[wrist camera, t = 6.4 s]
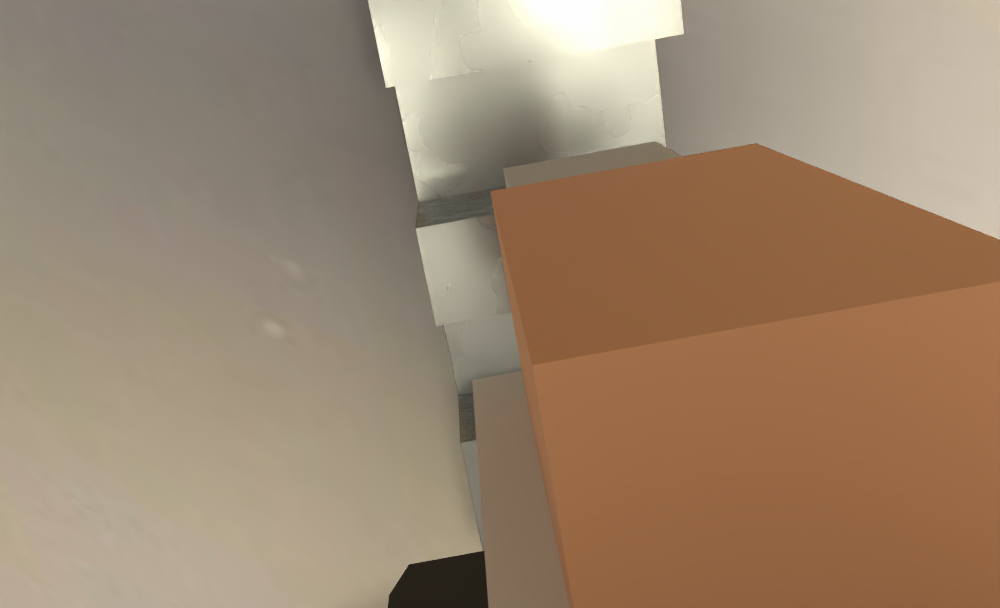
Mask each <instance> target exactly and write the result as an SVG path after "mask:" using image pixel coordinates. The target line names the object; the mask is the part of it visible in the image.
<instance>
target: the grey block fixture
mask: <svg viewBox="0 0 1000 608" xmlns="http://www.w3.org/2000/svg"><path fill="white" fill-rule="evenodd" d="M368 4H369V9H370V13H371V18H372V23H373V28H374V33H375V37H376V42H377V47H378V52H379V56H380V61H381V66H382V71H383V76H384V80H385V85H386V88H388V87H393V86H395V89H396V94H397V99H398V104H399V109H400V114H401V119H402V123H403V128H404V133H405V138H406V143H407V148H408V153H409V157H410V162H411V167H412V172H413V177H414V182H415V187H416V191H417V196H418V201H419V203H418V212H417V220H416V233H417V238H418V243H419V248H420V252H421V257H422V262H423V267H424V271H425V276H426V281H427V286H428V291H429V295H430V300H431V305H432V310H433V315H434V319H435V324H436V326H440V325H444V328H445V332H446V337H447V342H448V347H449V352H450V357H451V362H452V366H453V371H454V376H455V381H456V386H457V391H458V397H459V421H460V444H461V448H462V453H463V458H464V463H465V467H466V472H467V477H468V482H469V487H470V491H471V496H472V501H473V506H474V510H475V515H476V520H477V525H478V530H479V534H480V539H481V544H482V549H483V551H484V538H483V524H482V510H481V496H480V482H479V469H478V455H477V441H476V427H475V413H474V399H473V385H472V380H474V379H480V378H485V377H491V376H496V375H502V374H507V373H513V372H519V371H522V369H521V363H520V357H519V352H518V346H517V340H516V335H515V329H514V323H513V318H512V312H511V306H510V300H509V295H508V289H507V283H506V278H505V272H504V266H503V261H502V255H501V249H500V243H499V238H498V232H497V226H496V221H495V215H494V209H493V203H492V198H491V192H490V191H493V190H499V189H505V188H506V183H505V177H504V171H503V168H509V167H514V166H520V165H525V164H531V163H536V162H542V161H548V160H553V159H559V158H564V157H570V156H576V155H581V154H587V153H592V152H598V151H603V150H609V149H615V148H620V147H626V146H631V145H637V144H643V143H648V142H654V141H656V142H658V143H660V144H661V145H663V146H665V147H666V141H665V131H664V122H663V112H662V103H661V93H660V84H659V74H658V65H657V55H656V45H655V39H659V38H664V37H670V36H675V35H681V34H684V31H683V21H682V10H681V0H368ZM522 376H523V375H522Z"/></svg>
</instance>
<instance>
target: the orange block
mask: <svg viewBox="0 0 1000 608" xmlns="http://www.w3.org/2000/svg"><path fill="white" fill-rule="evenodd" d="M503 171H504V177H505V183H506V188H505V189H499V190H493V191H490V192H491V198H492V203H493V209H494V215H495V221H496V226H497V232H498V238H499V243H500V249H501V255H502V261H503V266H504V272H505V278H506V283H507V289H508V295H509V300H510V306H511V312H512V318H513V323H514V329H515V335H516V340H517V346H518V352H519V357H520V363H521V369H522V375H523V380H524V386H525V392H526V397H527V402H528V407H529V412H530V417H531V421H532V426H533V431H534V436H535V441H536V446H537V451H538V456H539V461H540V465H541V470H542V475H543V480H544V485H545V490H546V495H547V500H548V505H549V510H550V514H551V519H552V524H553V529H554V534H555V539H556V544H557V549H558V554H559V558H560V563H561V568H562V573H563V578H564V583H565V588H566V593H567V598H568V602H569V607H570V608H1000V240H999V239H996V238H994V237H991V236H989V235H986V234H984V233H981V232H979V231H976V230H974V229H971V228H969V227H966V226H963V225H961V224H958V223H956V222H953V221H951V220H948V219H946V218H943V217H941V216H938V215H936V214H933V213H931V212H928V211H926V210H923V209H921V208H918V207H915V206H913V205H910V204H908V203H905V202H903V201H900V200H898V199H895V198H893V197H890V196H888V195H885V194H883V193H880V192H878V191H875V190H873V189H870V188H868V187H865V186H862V185H860V184H857V183H855V182H852V181H850V180H847V179H845V178H842V177H840V176H837V175H835V174H832V173H830V172H827V171H825V170H822V169H820V168H817V167H815V166H812V165H809V164H807V163H804V162H802V161H799V160H797V159H794V158H792V157H789V156H787V155H784V154H782V153H779V152H777V151H774V150H772V149H769V148H767V147H764V146H761V145H759V144H750V145H745V146H739V147H733V148H728V149H722V150H717V151H711V152H706V153H700V154H694V155H689V156H683V157H682V156H680V155H679V154H677V153H675V152H673V151H672V150H670V149H668V148H666V147H665V146H663V145H661V144H660V143H658V142H656V141H654V142H648V143H643V144H637V145H631V146H626V147H620V148H615V149H609V150H603V151H598V152H592V153H587V154H581V155H576V156H570V157H564V158H559V159H553V160H548V161H542V162H536V163H531V164H525V165H520V166H514V167H509V168H503Z"/></svg>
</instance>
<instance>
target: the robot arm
mask: <svg viewBox="0 0 1000 608" xmlns="http://www.w3.org/2000/svg"><path fill="white" fill-rule="evenodd" d="M472 385H473V399H474V413H475V427H476V441H477V455H478V469H479V482H480V496H481V510H482V524H483V538H484V551H481V552H476V553H470V554H465V555H459V556H454V557H448V558H443V559H437V560H432V561H426V562H421V563H415V564H410V565H408V567H407V569H406V570H405V572H404V573H403V575H402V576H401V578H400V579H399V581H398V583H397V584H396V586H395V587H394V589H393V590H392V592H391V593H390V595H389V603H388V608H570V607H569V602H568V598H567V593H566V588H565V583H564V578H563V573H562V568H561V563H560V558H559V554H558V549H557V544H556V539H555V534H554V529H553V524H552V519H551V514H550V510H549V505H548V500H547V495H546V490H545V485H544V480H543V475H542V470H541V465H540V461H539V456H538V451H537V446H536V441H535V436H534V431H533V426H532V421H531V417H530V412H529V407H528V402H527V397H526V392H525V386H524V380H523V376H522V371H519V372H513V373H507V374H502V375H496V376H491V377H485V378H480V379H474V380H472Z"/></svg>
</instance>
